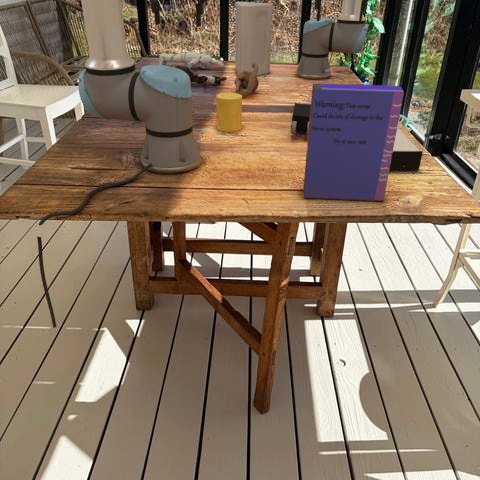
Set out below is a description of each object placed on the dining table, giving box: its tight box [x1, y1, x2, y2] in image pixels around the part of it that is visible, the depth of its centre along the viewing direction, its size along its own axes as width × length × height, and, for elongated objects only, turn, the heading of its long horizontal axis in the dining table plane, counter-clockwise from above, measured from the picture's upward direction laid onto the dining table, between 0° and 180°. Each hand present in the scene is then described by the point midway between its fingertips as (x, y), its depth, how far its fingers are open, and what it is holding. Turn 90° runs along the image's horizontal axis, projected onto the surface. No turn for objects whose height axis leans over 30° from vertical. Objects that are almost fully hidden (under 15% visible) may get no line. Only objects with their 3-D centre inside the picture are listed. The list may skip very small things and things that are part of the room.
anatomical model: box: [234, 63, 260, 99], centre depth 181 cm, size 13×9×15 cm
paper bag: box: [234, 1, 274, 77], centre depth 210 cm, size 19×15×28 cm
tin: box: [215, 92, 243, 133], centre depth 146 cm, size 8×8×10 cm
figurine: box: [172, 64, 228, 85], centre depth 193 cm, size 24×8×30 cm
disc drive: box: [389, 127, 424, 172], centre depth 128 cm, size 18×22×5 cm
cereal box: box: [302, 83, 405, 202], centre depth 102 cm, size 17×5×24 cm, turn 86°
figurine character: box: [290, 102, 311, 140], centre depth 143 cm, size 7×8×15 cm
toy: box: [158, 51, 225, 70], centre depth 222 cm, size 24×25×7 cm
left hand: (178, 25), depth 151 cm, fingers open, 13 cm apart
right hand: (338, 21), depth 156 cm, fingers open, 13 cm apart
